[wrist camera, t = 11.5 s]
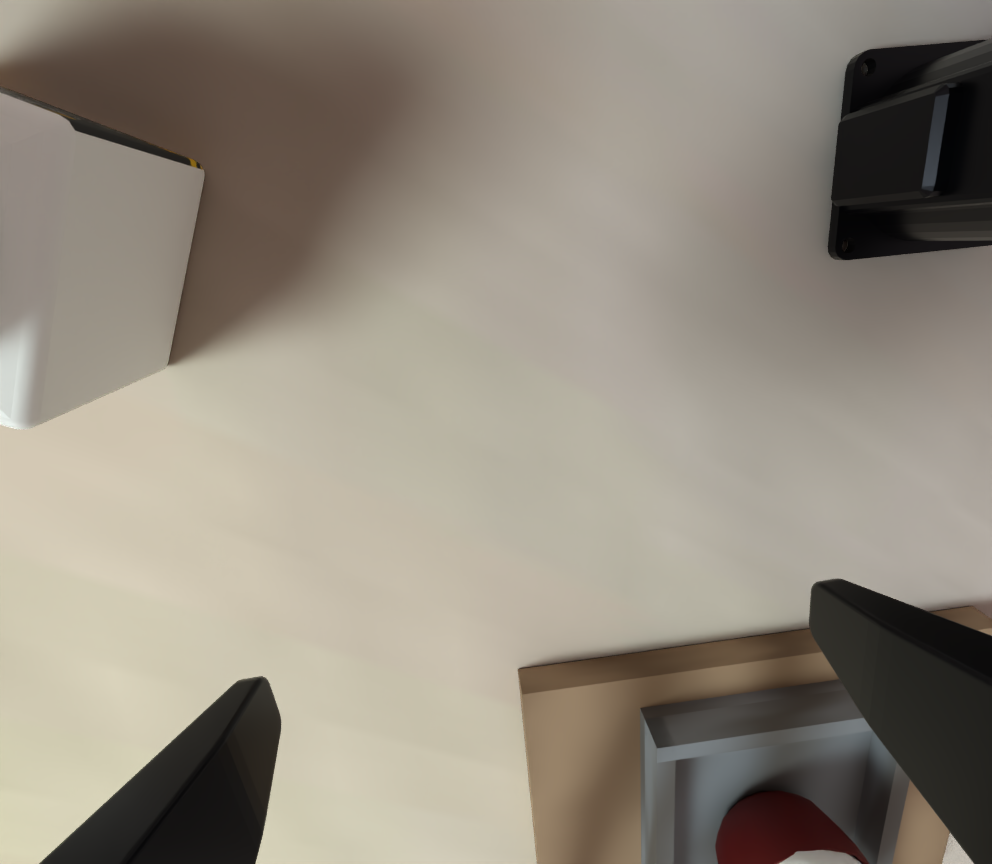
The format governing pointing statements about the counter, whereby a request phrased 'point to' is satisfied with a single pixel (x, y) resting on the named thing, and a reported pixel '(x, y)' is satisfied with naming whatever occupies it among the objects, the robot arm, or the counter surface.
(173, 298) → the medicine bottle
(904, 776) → the tray stand
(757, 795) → the cocoa
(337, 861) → the counter surface
